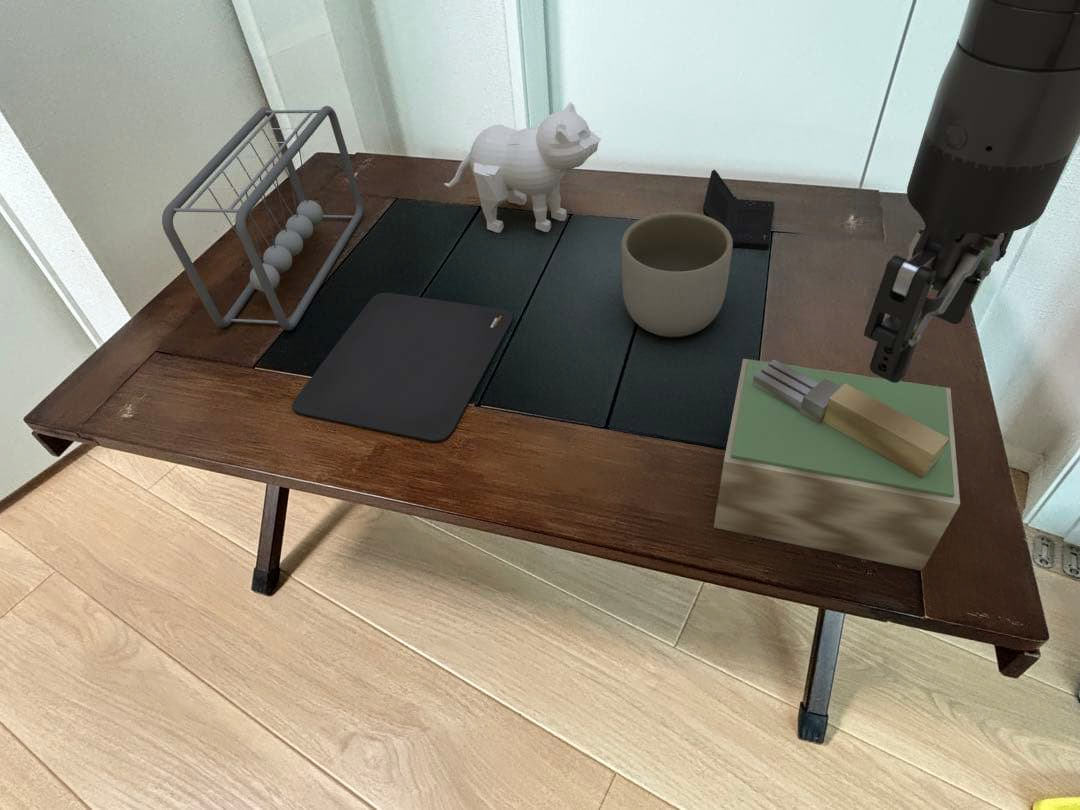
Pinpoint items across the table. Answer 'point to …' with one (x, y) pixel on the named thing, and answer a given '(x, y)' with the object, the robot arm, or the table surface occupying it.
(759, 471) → the stand
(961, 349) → the table surface
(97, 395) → the table surface
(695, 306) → the planter
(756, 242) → the handheld gaming console
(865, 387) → the green rectangular slab
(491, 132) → the cat figurine
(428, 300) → the mouse pad
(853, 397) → the fork
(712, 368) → the table surface
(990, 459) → the table surface
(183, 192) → the newton's cradle
